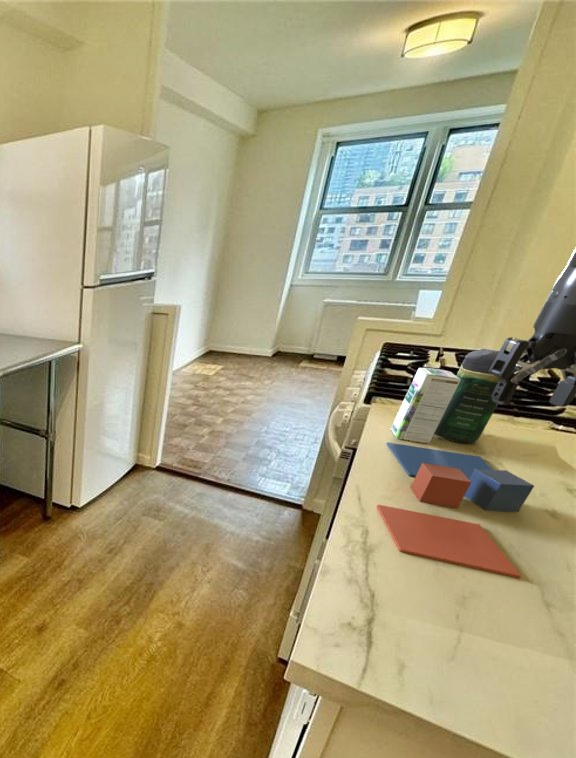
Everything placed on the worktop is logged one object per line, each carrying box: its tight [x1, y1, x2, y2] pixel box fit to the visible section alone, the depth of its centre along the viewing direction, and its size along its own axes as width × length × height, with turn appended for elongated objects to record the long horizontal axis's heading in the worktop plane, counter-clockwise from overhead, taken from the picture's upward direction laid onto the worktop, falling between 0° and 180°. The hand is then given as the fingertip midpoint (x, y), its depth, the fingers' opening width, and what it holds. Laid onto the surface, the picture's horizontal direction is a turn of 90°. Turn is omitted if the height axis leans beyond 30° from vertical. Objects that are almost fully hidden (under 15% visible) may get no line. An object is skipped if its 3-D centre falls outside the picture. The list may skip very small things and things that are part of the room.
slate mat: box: [386, 441, 494, 479], centre depth 92 cm, size 15×15×1 cm
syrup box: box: [390, 367, 461, 444], centre depth 101 cm, size 6×6×14 cm
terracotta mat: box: [376, 504, 522, 579], centre depth 72 cm, size 13×13×1 cm
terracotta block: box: [410, 463, 471, 509], centre depth 81 cm, size 5×5×5 cm
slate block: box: [464, 469, 535, 513], centre depth 80 cm, size 5×5×5 cm
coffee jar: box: [433, 348, 505, 444], centre depth 101 cm, size 10×8×19 cm
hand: (528, 404), depth 78 cm, fingers open, 8 cm apart
